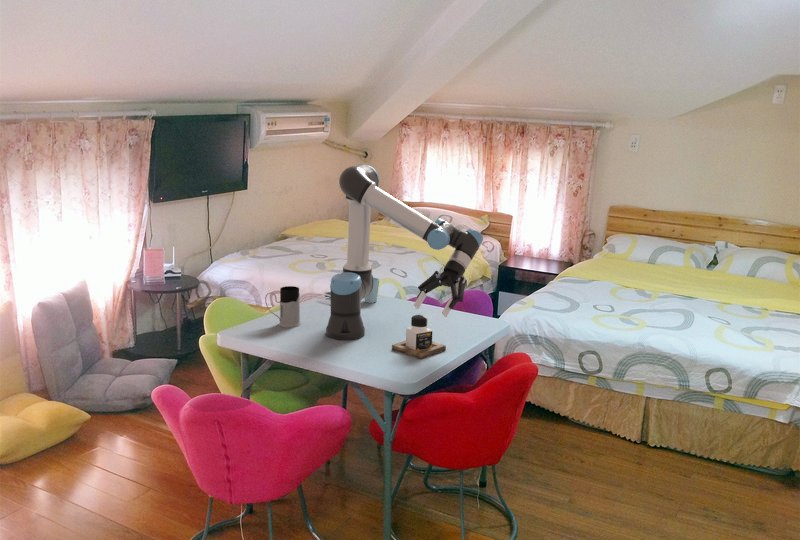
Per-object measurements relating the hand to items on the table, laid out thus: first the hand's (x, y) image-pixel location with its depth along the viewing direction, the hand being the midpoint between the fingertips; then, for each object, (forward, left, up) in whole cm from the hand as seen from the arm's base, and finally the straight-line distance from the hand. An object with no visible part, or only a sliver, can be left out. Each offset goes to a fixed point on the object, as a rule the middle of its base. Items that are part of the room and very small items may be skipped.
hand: (429, 311), depth 257 cm
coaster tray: (-1, -4, -14) cm, 15 cm away
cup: (-61, +31, -14) cm, 70 cm away
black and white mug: (-59, -21, -14) cm, 64 cm away
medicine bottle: (-1, -4, -14) cm, 14 cm away
